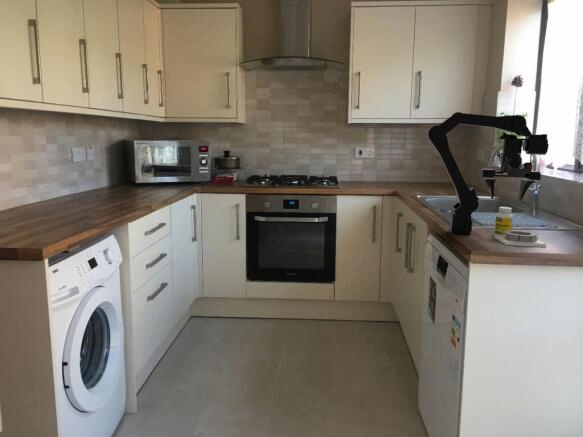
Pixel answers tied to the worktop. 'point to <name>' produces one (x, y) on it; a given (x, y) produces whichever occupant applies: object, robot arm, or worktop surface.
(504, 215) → the supplement bottle
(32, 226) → the worktop surface
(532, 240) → the socket base
